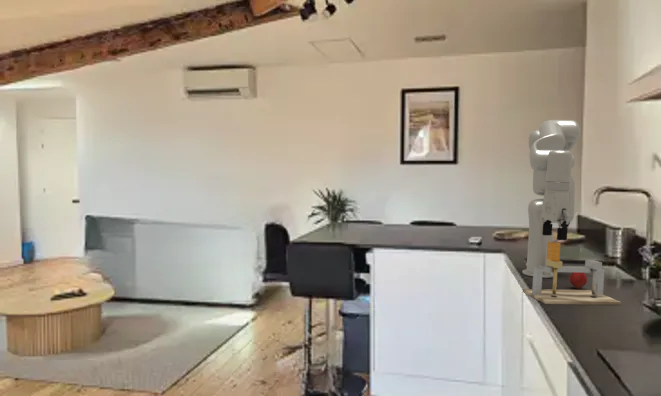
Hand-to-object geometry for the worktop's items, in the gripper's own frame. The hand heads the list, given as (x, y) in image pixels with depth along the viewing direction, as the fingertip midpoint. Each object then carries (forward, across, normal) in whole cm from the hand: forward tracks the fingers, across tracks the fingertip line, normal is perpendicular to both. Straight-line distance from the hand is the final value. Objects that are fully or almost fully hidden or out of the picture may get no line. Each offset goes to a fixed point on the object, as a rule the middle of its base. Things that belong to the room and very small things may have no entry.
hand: (554, 237), depth 178 cm
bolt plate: (+21, +1, +7) cm, 22 cm away
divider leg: (+19, +2, 0) cm, 19 cm away
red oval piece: (+21, -13, +18) cm, 31 cm away
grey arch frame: (+20, +2, +6) cm, 21 cm away
